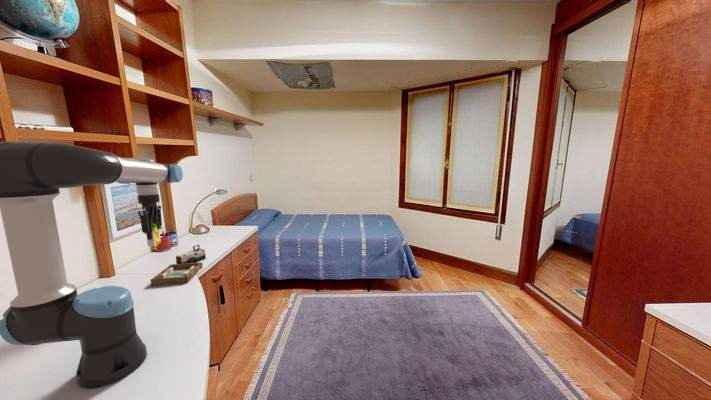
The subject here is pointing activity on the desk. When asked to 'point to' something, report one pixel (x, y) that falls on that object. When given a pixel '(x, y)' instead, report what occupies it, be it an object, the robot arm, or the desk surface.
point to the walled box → (176, 274)
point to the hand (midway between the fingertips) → (154, 244)
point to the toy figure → (155, 237)
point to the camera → (191, 256)
